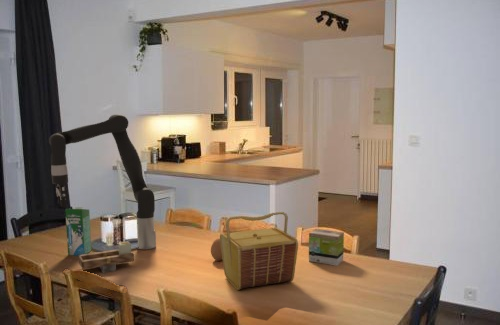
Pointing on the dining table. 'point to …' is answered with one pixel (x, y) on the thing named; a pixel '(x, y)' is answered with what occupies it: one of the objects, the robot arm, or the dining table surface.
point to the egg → (216, 250)
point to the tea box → (326, 246)
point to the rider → (124, 247)
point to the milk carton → (78, 231)
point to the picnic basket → (258, 255)
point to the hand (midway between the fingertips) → (62, 205)
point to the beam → (104, 260)
